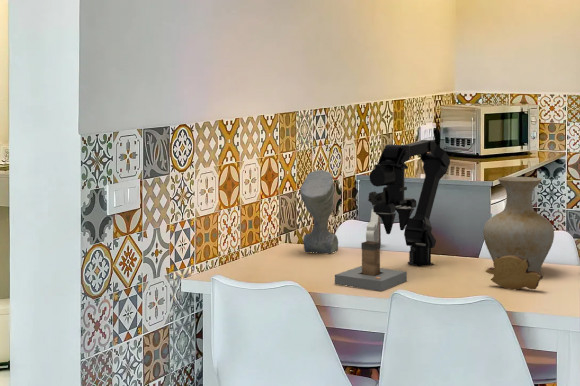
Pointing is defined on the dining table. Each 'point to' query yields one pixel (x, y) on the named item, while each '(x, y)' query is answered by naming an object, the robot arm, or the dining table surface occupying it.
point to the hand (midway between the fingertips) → (395, 232)
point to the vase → (519, 225)
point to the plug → (370, 258)
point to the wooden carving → (514, 273)
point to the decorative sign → (374, 228)
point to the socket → (371, 279)
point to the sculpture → (319, 211)
